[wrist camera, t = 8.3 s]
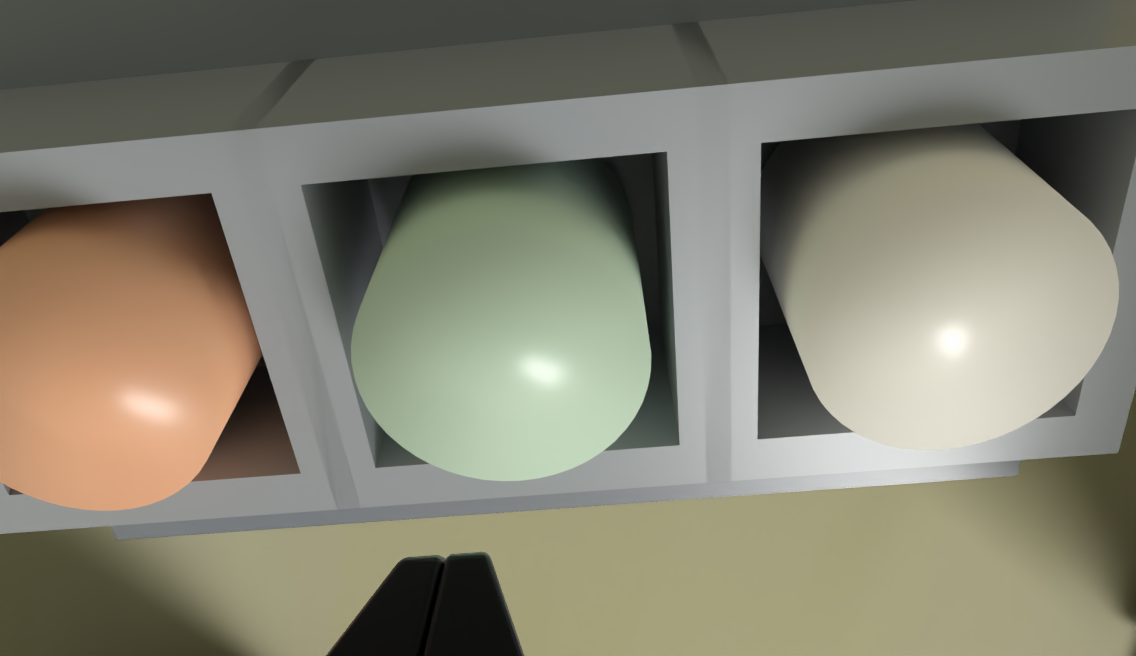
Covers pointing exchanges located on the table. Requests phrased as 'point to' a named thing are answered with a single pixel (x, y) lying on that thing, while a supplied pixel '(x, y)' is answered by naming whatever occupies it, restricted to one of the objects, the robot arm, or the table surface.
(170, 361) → the terracotta button
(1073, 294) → the ivory button
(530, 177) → the sage button
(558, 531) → the table surface
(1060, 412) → the grey compartment tray
